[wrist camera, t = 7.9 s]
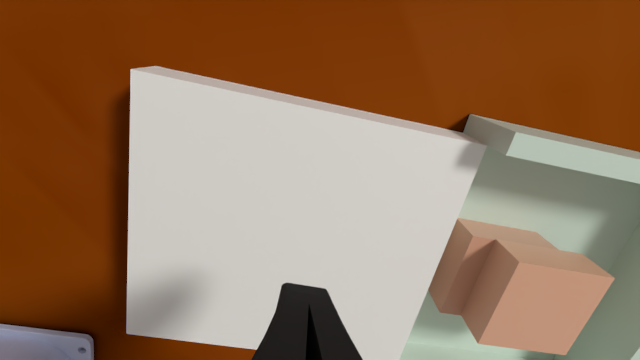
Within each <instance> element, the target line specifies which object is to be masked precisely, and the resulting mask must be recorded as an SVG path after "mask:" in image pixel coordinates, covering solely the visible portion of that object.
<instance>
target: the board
mask: <svg viewBox="0 0 640 360" xmlns="http://www.w3.org/2000/svg"><path fill="white" fill-rule="evenodd" d="M486 147H487V145H485V144H483V143H481V142H480V141H478V140H476V139H474V138H472V137H470V136H468V135H466V134H464V133H462V132H458V131H453V130H448V129H444V128H439V127H435V126H430V125H425V124H421V123H416V122H412V121H407V120H402V119H398V118H393V117H389V116H384V115H379V114H375V113H370V112H366V111H361V110H356V109H352V108H347V107H343V106H338V105H333V104H329V103H324V102H320V101H315V100H310V99H306V98H301V97H297V96H292V95H287V94H283V93H278V92H274V91H269V90H264V89H260V88H255V87H251V86H246V85H241V84H237V83H232V82H228V81H223V80H218V79H214V78H209V77H205V76H200V75H195V74H191V73H186V72H182V71H177V70H172V69H168V68H163V67H159V66H152V67H144V68H136V69H131V81H130V140H129V200H128V259H127V318H126V334H132V335H141V336H149V337H157V338H165V339H173V340H182V341H190V342H198V343H206V344H214V345H223V346H231V347H239V348H247V349H255V350H257V349H258V347H259V345H260V343H261V341H262V339H263V338H264V336H265V334H266V331H267V329H268V327H269V325H270V323H271V320H272V318H273V316H274V314H275V311H276V307H277V303H278V299H279V295H280V290H281V286H282V285H283V284H284V283H286V282H287V283H293V284H300V285H306V286H312V287H319V288H325V289H326V290H327V291H328V293H329V295H330V297H331V300H332V302H333V304H334V306H335V308H336V310H337V312H338V315H339V317H340V319H341V321H342V323H343V325H344V327H345V328H346V330H347V332H348V334H349V336H350V338H351V340H352V341H353V343H354V345H355V347H356V349H357V350H358V352H359V354H360V356H361V357H362V359H363V360H399V359H400V357H401V354H402V352H403V349H404V347H405V344H406V342H407V340H408V337H409V335H410V332H411V330H412V327H413V325H414V323H415V320H416V318H417V315H418V313H419V310H420V308H421V306H422V303H423V301H424V298H425V296H426V293H427V291H428V289H429V286H430V284H431V281H432V279H433V276H434V274H435V271H436V269H437V267H438V264H439V262H440V259H441V257H442V254H443V252H444V250H445V247H446V245H447V242H448V240H449V237H450V235H451V233H452V230H453V228H454V225H455V223H456V220H457V218H458V216H459V213H460V211H461V208H462V206H463V203H464V201H465V199H466V196H467V194H468V191H469V189H470V186H471V184H472V182H473V179H474V177H475V174H476V172H477V169H478V167H479V165H480V162H481V160H482V157H483V155H484V152H485V150H486Z"/></svg>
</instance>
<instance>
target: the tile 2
mask: <svg viewBox="0 0 640 360" xmlns="http://www.w3.org/2000/svg"><path fill="white" fill-rule="evenodd" d="M614 279H615V278H614V277H613V276H612V275H610V274H609V273H607V272H606V271H605V270H603V269H602V268H601V267H599V266H598V265H597V264H595V263H594V262H593V261H591V260H590V259H588V258H587V257H586V256H584V255H583V254H580V253H574V252H568V251H563V250H557V249H551V248H545V247H540V246H534V245H528V244H522V243H517V242H511V241H505V240H499V239H495V242H494V244H493V246H492V248H491V250H490V252H489V255H488V257H487V259H486V261H485V263H484V265H483V267H482V270H481V272H480V274H479V276H478V278H477V280H476V283H475V285H474V287H473V289H472V291H471V293H470V295H469V298H468V300H467V302H466V304H465V306H464V308H463V311H462V313H461V316H462V318H463V319H464V321H465V323H466V325H467V326H468V328H469V330H470V331H471V333H472V335H473V336H474V338H475V340H476V341H477V343H478V344H483V345H491V346H498V347H506V348H513V349H521V350H529V351H536V352H544V353H551V354H559V355H566V354H567V352H568V351H569V349H570V348H571V346H572V345H573V343H574V341H575V340H576V338H577V337H578V335H579V334H580V332H581V331H582V329H583V327H584V326H585V324H586V323H587V321H588V320H589V318H590V317H591V315H592V313H593V312H594V310H595V309H596V307H597V306H598V304H599V302H600V301H601V299H602V298H603V296H604V295H605V293H606V292H607V290H608V288H609V287H610V285H611V284H612V282H613V281H614Z"/></svg>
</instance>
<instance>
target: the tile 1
mask: <svg viewBox="0 0 640 360" xmlns="http://www.w3.org/2000/svg"><path fill="white" fill-rule="evenodd" d="M495 239H499V240H505V241H511V242H517V243H522V244H528V245H534V246H540V247H545V248H551V249H557V248H556V247H555V246H553V245H552V244H551V243H550V242H548V241H547V240H546V239H544V238H543V237H542V236H541V235H539V234H538V233H537V232H533V231H528V230H522V229H517V228H511V227H506V226H500V225H495V224H489V223H484V222H478V221H473V220H467V219H462V218H457V220H456V223H455V225H454V228H453V230H452V233H451V235H450V237H449V240H448V242H447V245H446V247H445V250H444V252H443V254H442V257H441V259H440V262H439V264H438V267H437V269H436V271H435V274H434V276H433V279H432V281H431V284H430V286H429V289H428V291H429V293H430V295H431V297H432V299H433V300H434V302H435V304H436V306H437V308H438V310H439V312H440V313H447V314H453V315H460V316H461V313H462V311H463V308H464V306H465V304H466V302H467V300H468V298H469V295H470V293H471V291H472V289H473V287H474V285H475V283H476V280H477V278H478V276H479V274H480V272H481V270H482V267H483V265H484V263H485V261H486V259H487V257H488V255H489V252H490V250H491V248H492V246H493V244H494V242H495ZM557 250H558V249H557Z"/></svg>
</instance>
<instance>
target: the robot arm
mask: <svg viewBox="0 0 640 360" xmlns="http://www.w3.org/2000/svg"><path fill="white" fill-rule="evenodd" d="M0 360H94V343H93V338H92V337H91V336H89V335H87V334H81V333H73V332H64V331H56V330H48V329H39V328H31V327H23V326H14V325H6V324H0ZM252 360H363V359H362V357H361V356H360V354H359V352H358V350H357V349H356V347H355V345H354V343H353V341H352V340H351V338H350V336H349V334H348V332H347V330H346V328H345V327H344V325H343V323H342V321H341V319H340V317H339V315H338V312H337V310H336V308H335V306H334V304H333V302H332V300H331V297H330V295H329V293H328V291H327V290H326V289H325V288H319V287H312V286H306V285H300V284H293V283H287V282H286V283H284V284H283V285H282V286H281V290H280V295H279V299H278V303H277V307H276V311H275V314H274V316H273V318H272V320H271V323H270V325H269V327H268V329H267V331H266V334H265V336H264V338H263V339H262V341H261V343H260V345H259V347H258V349H257V350H256V352H255V354H254V356H253V358H252Z"/></svg>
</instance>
